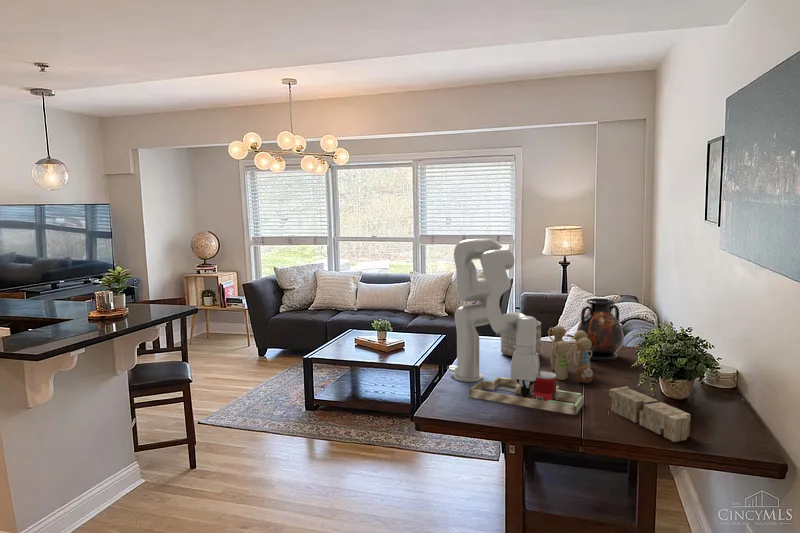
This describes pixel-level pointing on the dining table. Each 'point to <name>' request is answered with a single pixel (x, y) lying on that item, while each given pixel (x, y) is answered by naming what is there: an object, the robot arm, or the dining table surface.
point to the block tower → (651, 413)
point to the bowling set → (559, 355)
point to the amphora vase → (602, 329)
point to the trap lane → (514, 386)
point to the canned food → (545, 386)
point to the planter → (510, 340)
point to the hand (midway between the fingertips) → (525, 396)
